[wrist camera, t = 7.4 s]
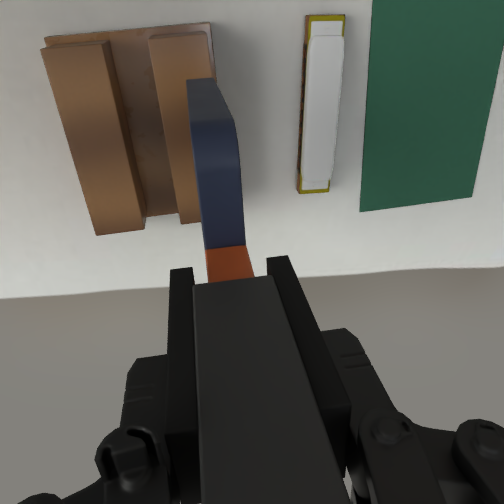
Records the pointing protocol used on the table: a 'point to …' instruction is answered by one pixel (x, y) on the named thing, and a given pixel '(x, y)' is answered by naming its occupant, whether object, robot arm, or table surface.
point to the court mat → (428, 98)
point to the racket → (247, 347)
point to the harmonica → (320, 101)
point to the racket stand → (131, 118)
